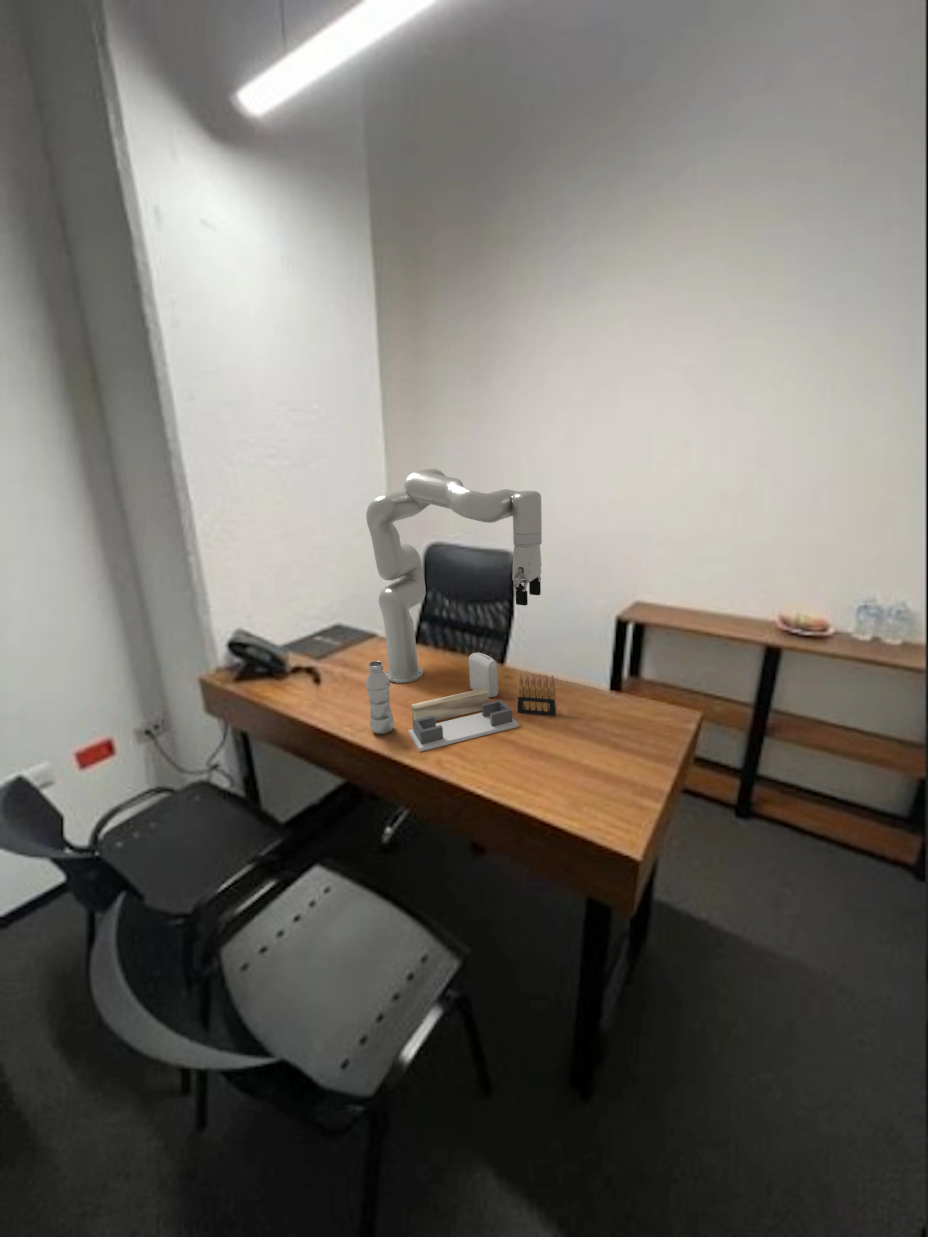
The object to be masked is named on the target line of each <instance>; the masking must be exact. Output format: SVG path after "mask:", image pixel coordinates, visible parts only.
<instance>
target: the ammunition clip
mask: <svg viewBox="0 0 928 1237" xmlns="http://www.w3.org/2000/svg"><path fill="white" fill-rule="evenodd" d="M535 678H536V677H535V674H534V673H533V674H532V675H531V677H530V680H529V675H528V673H526V674H525V676H524V679H523V675H522V673H520V672H519V675H518V682H517V713H518V714H528V715H537V716H547V715H549V717H556V714H557V708H556V706H557V705H556V688H555V678H554V675H551V677H550V679H549V680H548V676H547V675H546V674H545V675H544V677H543V684H542V678H541V675H540V674H538V675H537V681H536V679H535Z"/></svg>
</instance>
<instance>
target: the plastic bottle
mask: <svg viewBox="0 0 928 1237" xmlns="http://www.w3.org/2000/svg"><path fill="white" fill-rule="evenodd" d="M368 672H369V674H368V675H367V677H366V680H365V688H366V691H367V694H368V700H369V706H370V709H369V710H370V718H369V725H370V728H371V731H372V732H373V733H375V734H378V735H384V734H388V733H390V732H391V731H392V730H393V728H394V726H395V725H394V724H395V719H394V717H393V716H394V715H393V713H392V710H391V702H390V686H391V685H390V684H391V682H390V681H389V678H388V676H387V675H386V674H385V673H386V672H384V666H383V662H382V661H380V660H374V661H370V662H369V663H368Z"/></svg>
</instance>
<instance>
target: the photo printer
mask: <svg viewBox="0 0 928 1237" xmlns="http://www.w3.org/2000/svg"><path fill="white" fill-rule="evenodd" d="M468 673H469V677H468V678H469V686H470V689H471V691H473V690H477V689H482V688H485V689H486V690H487V691H488V698H495V697H497V696H498V694H499V677H498V676H499V674H498V663H497V661H496V660H495V659H494V658H493V657H491V656H489V655H487V654H485V653H482V652H473V653H471V654H470V655H469V657H468Z"/></svg>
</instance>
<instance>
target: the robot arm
mask: <svg viewBox="0 0 928 1237" xmlns="http://www.w3.org/2000/svg"><path fill="white" fill-rule="evenodd" d="M403 485H404V487H403V488H404V489H401V490H400V489H399V490H396V491H390V492H386V493H384V494H383V493H382V494H380V495H377V497H375V498H374V499H373V500H371V502H370V503H369V505H368V506H367V509H366V514H365V515H366V516H365V517H366V518H365V519H366V523H367V527H368V530H369V534H370V538H371V542H372V543H371V544H372V548H373V549H372V550H373V553H374V560H375V564H376V569H377V572H378V575H379V576H380V578H382V579H383V580H385V581H393V580H397V579H398V581H395V582H393V583H391V584H389V585H387V586H386V587H384V588H383V589H382V590H381V591H380V593H379V596H378V605H379V609H380V611H381V612H380V613H381V616H382V619H383V626H384V627H383V628H384V634H385V642H386V643H385V645H386V651H387V654H386V655H387V663H388V664H387V665H388V669H387V670H386V671H385V672H384V673H385V674H386V675H387V676H388V678H389V681H391V682H390V683H393V682H395V684H407V682H408V683H412V682H415V681H417V680H420V678H422V677H423V676H424V675H423V674H424V670H423V668H422V667H421V666H419V664H418V652H417V642H416V641H417V640H416V630H415V623H414V620H413V617H412V616H411V613H410V609H412V608H414V607H416V606H417V605H418V604H419V605H420V603H422V602H423V601H424V599H425V596H426V589H427V588H426V583H425V575H424V570H423V565H422V564H423V563H422V559H421V556H420V554H419V552H418V551H417V549H416V548H415V547H414V546H412V545H410V544H407V543H404V544H402V543H401V540H400V539H401V538H400V534H399V532H398V529H397V528H396V526H395V525H394V524H393V523H395V522H398V521H400V520H405V519H408V518H411V517H414V516H416V515H418V514H419V513H421V512H423V510H425V509H426V508H427V507H429V506H430V505H433V506H437V507H441V508H445V509H449V510H452V512H454V513H455V514H457V515H459V516H461V517H462V518H467V519H470V520H473V521H478V522H481V523H488V524H489V523H496V522H499V521H501V520H503V519H508V518H511V517H512V527H513V528H512V529H513V533H512V534H513V535H512V537H513V546H514V547H513V553H512V554H513V555H512V577H511V578H512V581H513V583H514V585H513V586H514V591H515V605H516V606H525V607H526V606H527V605H528V604H529V603H528V600H529V599H528V593H529V595H531V596H532V595H533V596H540V595H541V594H542V593H541V590H542V588H541V586H542V585H541V580H542V577H541V575H542V555H541V545H542V544H543V542H542V541H543V540H542V538H543V536H542V532H543V531H542V530H543V529H542V524H543V523H542V495H541V493H540V492H539V491H535V490H522V491H518V490H513V489H500V490H497V491H496V490H495V491H492V492H489V493H486V492H485V493H484V492H480V491H476V490H471V489H467V488H465V487H464V484H463V482H462V480H461V479H460V478H456V477H451V476H446V475H445V474H444V472H443V471H441V470H439V469H437V468H426V469H421V470H420V469H419V470H415V471H413V472H411V473H410V474H408V476H407V477H406V478H405V480H404V484H403ZM528 585H529V587H528ZM527 588H529V589H528V590H529V592H528V590H527Z"/></svg>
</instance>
